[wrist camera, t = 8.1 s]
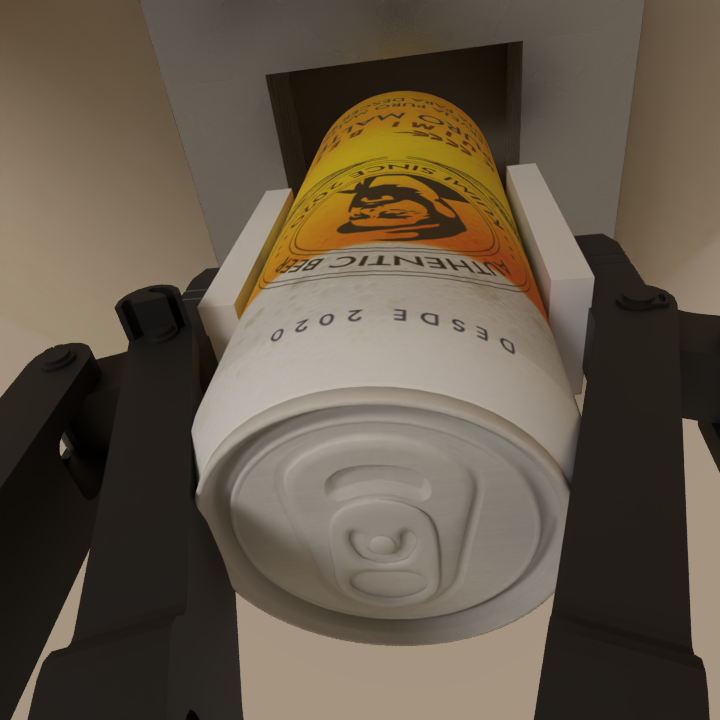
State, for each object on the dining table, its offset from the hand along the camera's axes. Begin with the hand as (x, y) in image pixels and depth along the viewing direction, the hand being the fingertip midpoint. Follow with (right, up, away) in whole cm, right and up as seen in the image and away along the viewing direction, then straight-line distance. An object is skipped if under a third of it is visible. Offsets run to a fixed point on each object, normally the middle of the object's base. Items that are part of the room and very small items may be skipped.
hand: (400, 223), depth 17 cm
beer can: (0, +2, +3) cm, 4 cm away
